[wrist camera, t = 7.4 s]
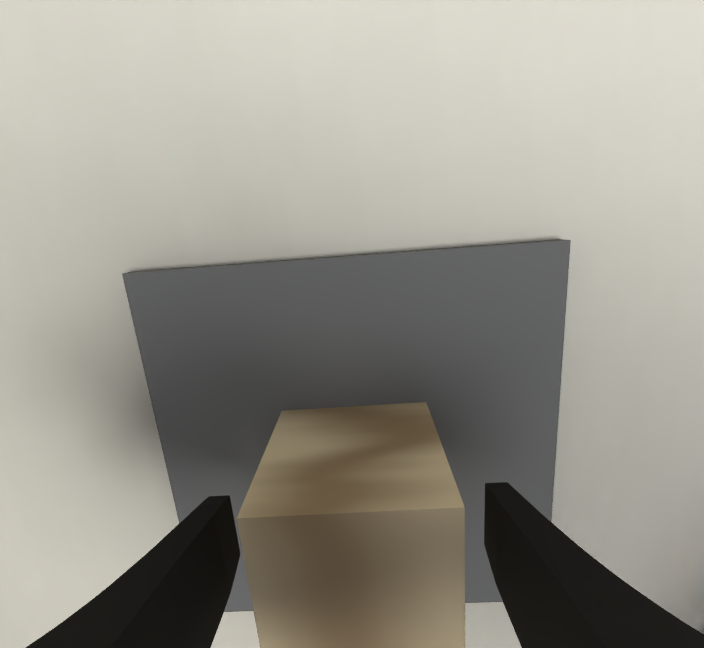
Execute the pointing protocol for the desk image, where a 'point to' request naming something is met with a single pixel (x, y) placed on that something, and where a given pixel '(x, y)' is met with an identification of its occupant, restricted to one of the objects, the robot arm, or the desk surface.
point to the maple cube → (355, 532)
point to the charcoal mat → (360, 366)
